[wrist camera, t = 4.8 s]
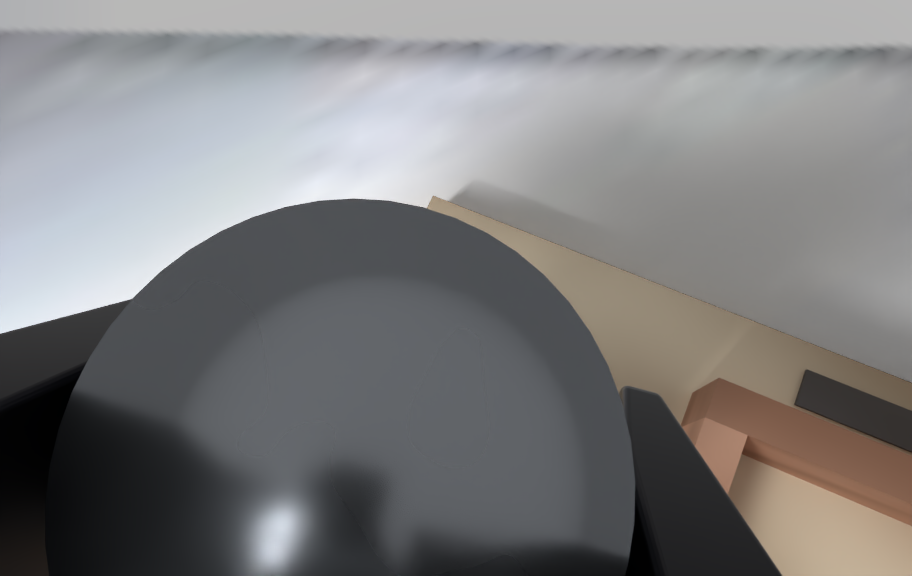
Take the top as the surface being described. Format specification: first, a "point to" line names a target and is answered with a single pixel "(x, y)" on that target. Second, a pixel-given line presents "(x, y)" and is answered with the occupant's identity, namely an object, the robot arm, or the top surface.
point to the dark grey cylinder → (344, 412)
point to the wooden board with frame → (754, 411)
